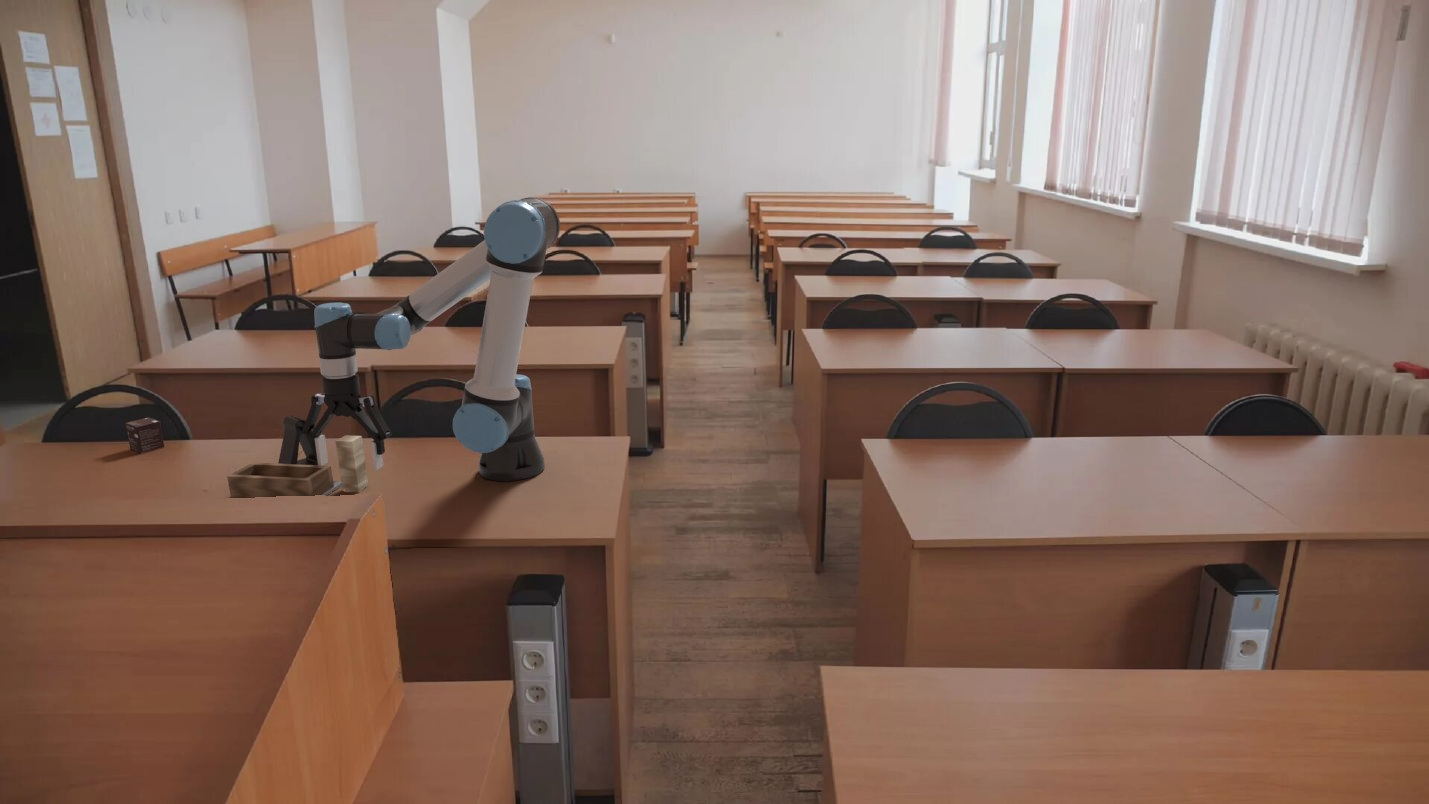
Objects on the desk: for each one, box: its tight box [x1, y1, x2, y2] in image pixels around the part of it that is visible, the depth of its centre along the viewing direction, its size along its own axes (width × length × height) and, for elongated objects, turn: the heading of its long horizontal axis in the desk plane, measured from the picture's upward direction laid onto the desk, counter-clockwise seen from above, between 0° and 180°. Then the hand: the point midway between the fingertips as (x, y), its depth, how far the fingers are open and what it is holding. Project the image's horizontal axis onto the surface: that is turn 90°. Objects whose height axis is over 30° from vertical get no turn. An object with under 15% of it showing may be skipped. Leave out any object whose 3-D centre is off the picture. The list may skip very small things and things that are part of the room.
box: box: [125, 416, 165, 454], centre depth 242 cm, size 6×6×7 cm
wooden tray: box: [226, 462, 342, 498], centre depth 208 cm, size 20×16×6 cm
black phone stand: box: [277, 414, 318, 465], centre depth 227 cm, size 9×6×12 cm, turn 138°
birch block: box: [335, 434, 369, 494], centre depth 211 cm, size 4×4×12 cm
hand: (350, 466), depth 211 cm, fingers open, 13 cm apart
